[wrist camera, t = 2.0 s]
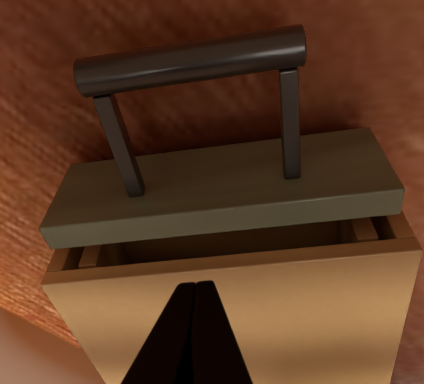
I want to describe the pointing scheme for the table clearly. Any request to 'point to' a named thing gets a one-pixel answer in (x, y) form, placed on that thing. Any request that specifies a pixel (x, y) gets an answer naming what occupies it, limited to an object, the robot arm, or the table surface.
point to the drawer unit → (257, 306)
